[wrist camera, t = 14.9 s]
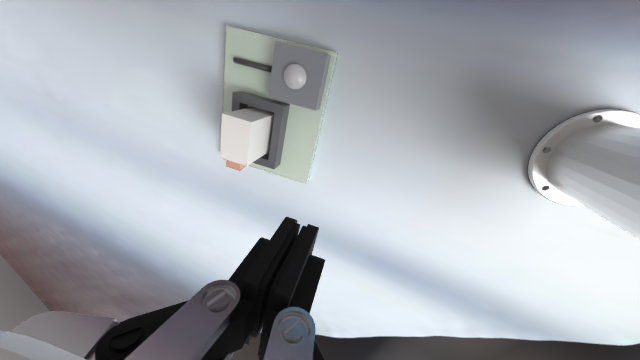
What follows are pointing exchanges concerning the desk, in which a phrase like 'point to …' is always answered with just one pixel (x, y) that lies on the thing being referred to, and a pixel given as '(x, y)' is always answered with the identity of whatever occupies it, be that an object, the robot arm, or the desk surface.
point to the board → (261, 85)
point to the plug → (245, 136)
